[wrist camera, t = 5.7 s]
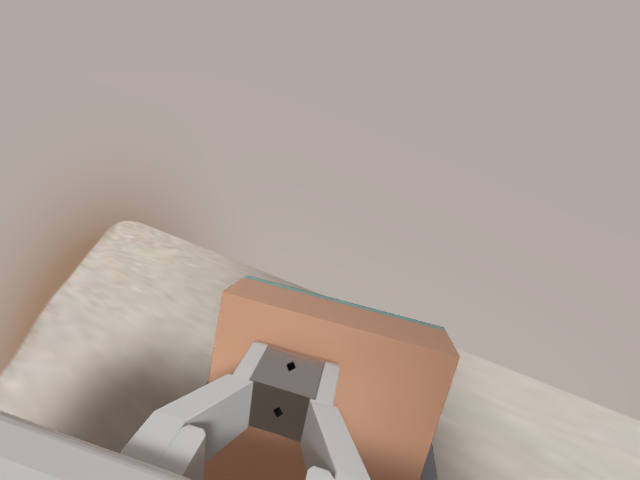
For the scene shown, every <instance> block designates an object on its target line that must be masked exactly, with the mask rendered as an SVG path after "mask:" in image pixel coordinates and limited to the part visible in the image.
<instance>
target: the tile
mask: <svg viewBox="0 0 640 480" xmlns="http://www.w3.org/2000/svg"><path fill="white" fill-rule="evenodd" d="M254 341H259V342H262V343H265V344H268V345H273V346H276V347H279V348H282V349H285V350H289V351H292V352H295V353H299V354H302V355H306V356H309V357H313V358H317V359H320V360H324V361H328V362H332V363H336V364H339V365H340V372H339V377H338V383H337V388H336V393H335V399H334V404H333V406H335V407H338V409H339V411H340V413H341V415H342V418H343V420H344V422H345V424H346V426H347V429H348V431H349V433H350V435H351V437H352V440H353V442H354V444H355V446H356V448H357V451H358V453H359V455H360V457H361V459H362V462H363V464H364V466H365V468H366V470H367V473H368V475H369V477H370V479H371V480H419V479H420V476H421V473H422V470H423V467H424V464H425V461H426V458H427V455H428V452H429V449H430V446H431V443H432V440H433V437H434V434H435V431H436V428H437V425H438V422H439V419H440V415H441V412H442V409H443V406H444V403H445V400H446V397H447V394H448V391H449V388H450V385H451V382H452V379H453V376H454V373H455V370H456V367H457V364H458V361H459V358H460V356H459V355H458V353H457V351H456V349H455V347H454V345H453V343H452V342H451V340H450V338H449V336H448V334H447V332H446V331H445V329H444V327H440V326H437V325H433V324H429V323H425V322H422V321H418V320H414V319H410V318H406V317H403V316H399V315H395V314H391V313H387V312H384V311H380V310H376V309H372V308H368V307H365V306H360V305H357V304H353V303H349V302H346V301H342V300H338V299H334V298H330V297H327V296H323V295H319V294H315V293H311V292H308V291H304V290H300V289H296V288H292V287H289V286H285V285H281V284H277V283H273V282H270V281H266V280H262V279H258V278H254V277H251V276H246V277H244V278H243V279H241V280H240V281H238V282H237V283H235V284H234V285H232V286H231V287H229V288H228V289H226V290H225V291H223V292H222V298H221V305H220V311H219V318H218V324H217V331H216V337H215V344H214V350H213V357H212V363H211V369H210V376H209V382H208V384H209V383H211V382H213V381H215V380H217V379H219V378H221V377H223V376H225V375H226V374H231V375H233V373H234V371H235V370H236V368H237V367H238V365H239V363H240V362H241V360H242V359H243V357H244V356H245V354H246V352H247V351H248V349H249V348H250V346H251V344H252V343H253V342H254ZM324 365H325V364H324ZM323 369H324V368H323ZM306 475H307V471H306V467H305V463H304V458H303V454H302V450H301V445H300V442H297V441H294V440H292V439H289V438H286V437H283V436H280V435H278V434H275V433H272V432H268V431H265V430H261V429H258V428H254V427H251V426H248V428H247V429H246V430H244V431H243V432H242V433H241V434H239V435H238V436H237V437H236V438H234V439H233V440H232V441H231V442H230V443H228V444H227V445H226V446H225V447H223V448H222V449H221V450H220V451H218V452H217V453H216V454H215V455H214V456H212V457H211V458H210V459H209V460H207V461H206V462H205V463H204V479H203V480H306Z"/></svg>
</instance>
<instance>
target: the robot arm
mask: <svg viewBox="0 0 640 480" xmlns="http://www.w3.org/2000/svg"><path fill="white" fill-rule="evenodd" d="M324 364H325V365H324ZM323 368H324V369H323ZM339 372H340V365H339V364H336V363H332V362H328V361H324V360H320V359H317V358H313V357H309V356H306V355H302V354H299V353H295V352H292V351H289V350H285V349H282V348H279V347H276V346H273V345H268V344H265V343H262V342H259V341H254V342H253V343H252V344H251V346H250V348H249V349H248V351H247V352H246V354H245V356H244V357H243V359H242V360H241V362H240V363H239V365H238V367H237V368H236V370H235V371H234V373H233V375H231V374H226V375H225V376H223V377H221V378H219V379H217V380H215V381H213V382H211V383H209V384H207V385H205V386H203V387H201V388H199V389H197V390H195V391H193V392H191V393H189V394H187V395H185V396H183V397H181V398H179V399H177V400H175V401H173V402H171V403H169V404H167V405H165V406H163V407H161V408H159V409H157V410H155V411H154V412H153V413H152V414H151V415H150V416H149V418H148V419H147V420H146V421H145V422H144V424H143V425H142V426H141V427H140V428H139V430H138V431H137V432H136V433H135V434H134V436H133V437H132V438H131V439H130V440H129V442H128V443H127V444H126V445H125V446H124V448H123V449H122V450H121V451H120V452H119V453H117V452H114V451H111V450H109V449H106V448H103V447H100V446H98V445H95V444H92V443H89V442H86V441H84V440H81V439H78V438H75V437H72V436H70V435H67V434H64V433H61V432H58V431H56V430H53V429H50V428H47V427H45V426H42V425H39V424H36V423H33V422H31V421H28V420H25V419H22V418H19V417H17V416H14V415H11V414H8V413H6V412H3V411H0V480H203V479H204V463H205V462H206V461H207V460H209V459H210V458H211V457H212V456H214V455H215V454H216V453H217V452H218V451H220V450H221V449H222V448H223V447H225V446H226V445H227V444H228V443H230V442H231V441H232V440H233V439H234V438H236V437H237V436H238V435H239V434H241V433H242V432H243V431H244V430H246V429H247V428H248V426H251V427H254V428H258V429H261V430H265V431H268V432H272V433H275V434H278V435H280V436H283V437H286V438H289V439H292V440H294V441H297V442H300V445H301V450H302V454H303V458H304V463H305V467H306V471H307V475H306V480H371V479H370V477H369V475H368V473H367V470H366V468H365V466H364V464H363V462H362V459H361V457H360V455H359V453H358V451H357V448H356V446H355V444H354V442H353V440H352V437H351V435H350V433H349V431H348V429H347V426H346V424H345V422H344V420H343V418H342V415H341V413H340V411H339V409H338V407H335V406H333V404H334V399H335V393H336V388H337V383H338V377H339Z"/></svg>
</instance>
